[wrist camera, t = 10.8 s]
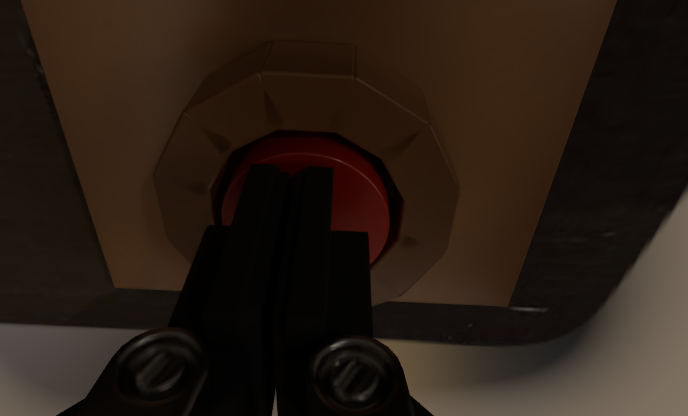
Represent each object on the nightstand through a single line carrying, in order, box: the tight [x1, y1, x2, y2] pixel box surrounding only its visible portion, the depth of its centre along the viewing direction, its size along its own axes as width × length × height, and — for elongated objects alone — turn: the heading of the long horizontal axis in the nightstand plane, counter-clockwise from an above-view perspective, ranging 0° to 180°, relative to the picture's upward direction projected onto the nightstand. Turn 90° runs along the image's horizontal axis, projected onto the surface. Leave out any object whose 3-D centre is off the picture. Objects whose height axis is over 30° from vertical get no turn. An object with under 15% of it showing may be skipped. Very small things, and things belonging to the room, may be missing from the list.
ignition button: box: [221, 130, 390, 264], centre depth 11 cm, size 4×4×2 cm
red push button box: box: [20, 0, 617, 307], centre depth 12 cm, size 12×9×4 cm
